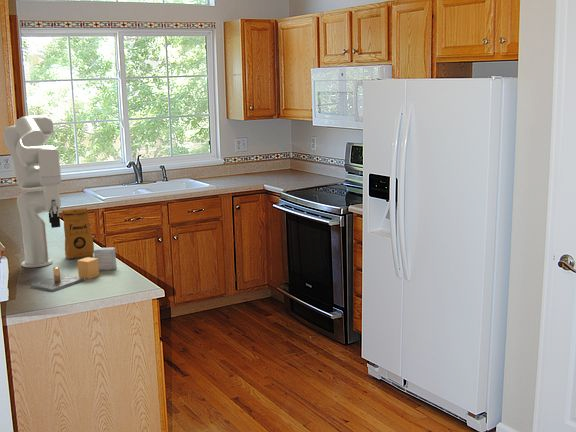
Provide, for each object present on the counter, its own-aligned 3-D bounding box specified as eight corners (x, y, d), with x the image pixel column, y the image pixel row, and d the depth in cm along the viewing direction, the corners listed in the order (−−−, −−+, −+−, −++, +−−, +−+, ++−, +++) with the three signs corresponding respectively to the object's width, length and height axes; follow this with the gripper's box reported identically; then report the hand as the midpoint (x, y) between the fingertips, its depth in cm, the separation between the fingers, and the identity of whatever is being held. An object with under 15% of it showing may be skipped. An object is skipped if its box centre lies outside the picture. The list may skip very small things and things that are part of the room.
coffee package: (95, 258, 310) (91, 209, 306) (65, 261, 306) (61, 211, 302) (93, 253, 319) (90, 205, 315) (65, 255, 315) (61, 207, 311)
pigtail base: (30, 287, 268) (29, 271, 266) (63, 276, 281) (61, 261, 280) (52, 291, 262) (50, 274, 260) (84, 280, 275) (83, 264, 274)
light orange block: (78, 277, 280) (77, 260, 279) (89, 273, 285) (87, 257, 283) (89, 278, 277) (87, 261, 276) (99, 275, 282) (97, 258, 281)
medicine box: (116, 267, 294) (115, 247, 292) (114, 270, 290) (113, 249, 288) (97, 267, 294) (96, 247, 292) (95, 270, 289) (93, 250, 288)
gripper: (38, 178, 270) (43, 222, 273) (41, 184, 254) (46, 230, 257) (59, 177, 273) (63, 220, 276) (63, 182, 257) (67, 228, 260)
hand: (54, 224), depth 267 cm, fingers open, 9 cm apart
